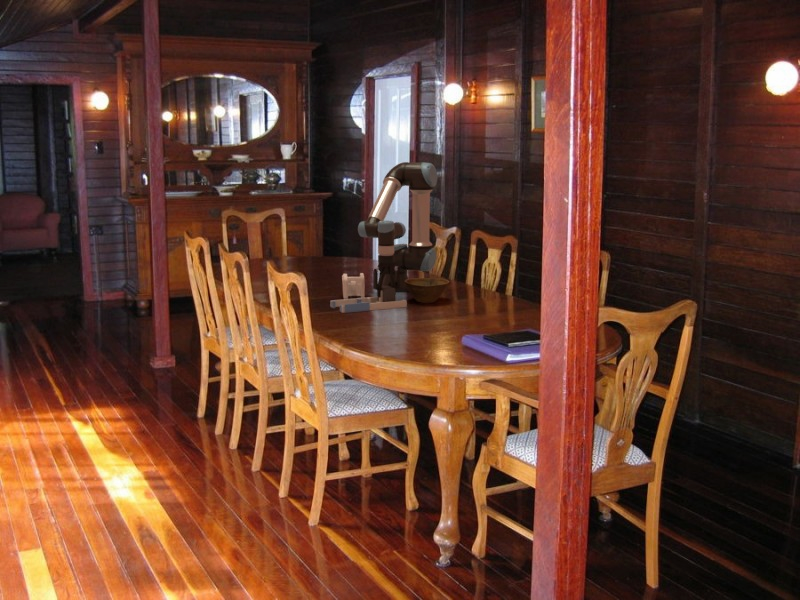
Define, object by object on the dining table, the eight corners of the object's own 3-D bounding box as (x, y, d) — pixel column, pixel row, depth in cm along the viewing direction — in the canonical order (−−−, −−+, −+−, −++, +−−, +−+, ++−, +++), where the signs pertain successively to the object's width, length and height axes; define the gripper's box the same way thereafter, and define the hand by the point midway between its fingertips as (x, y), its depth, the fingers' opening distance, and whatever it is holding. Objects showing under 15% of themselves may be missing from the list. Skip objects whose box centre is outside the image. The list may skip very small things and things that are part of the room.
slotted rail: (392, 301, 442) (392, 293, 441) (407, 307, 428) (407, 299, 427) (330, 306, 428) (330, 298, 428) (343, 313, 414) (343, 304, 414)
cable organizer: (364, 301, 443) (364, 277, 441) (342, 301, 442) (342, 277, 440) (363, 295, 457) (363, 272, 455) (342, 295, 457) (342, 272, 454)
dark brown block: (387, 302, 438) (387, 285, 436) (395, 305, 430) (395, 288, 428) (377, 303, 435) (377, 286, 434) (385, 306, 427) (385, 289, 426)
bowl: (456, 299, 448) (457, 278, 446) (438, 307, 428) (439, 286, 426) (415, 295, 457) (415, 275, 455) (396, 303, 437) (396, 282, 435)
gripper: (400, 251, 435) (400, 300, 439) (364, 254, 427) (365, 303, 432) (407, 254, 428) (407, 303, 433) (371, 256, 421) (371, 306, 425)
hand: (386, 303), depth 432 cm, fingers closed on dark brown block, 5 cm apart
